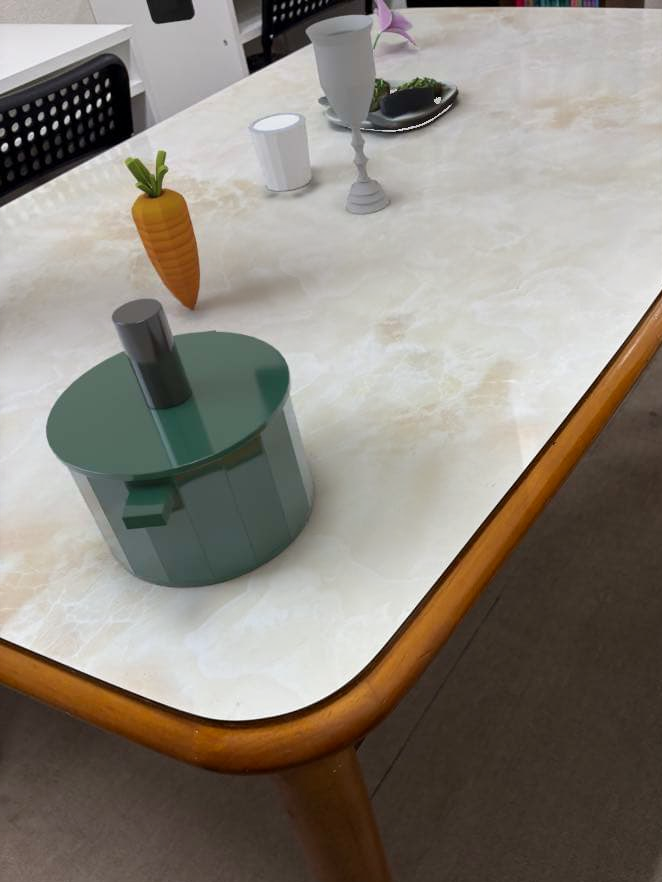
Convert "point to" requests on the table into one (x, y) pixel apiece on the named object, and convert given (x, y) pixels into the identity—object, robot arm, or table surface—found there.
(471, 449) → the table surface
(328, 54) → the chalice
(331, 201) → the table surface
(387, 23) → the lily
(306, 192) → the table surface
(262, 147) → the shot glass
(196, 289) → the carrot
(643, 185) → the table surface
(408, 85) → the salad plate
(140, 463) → the lid
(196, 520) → the pot
